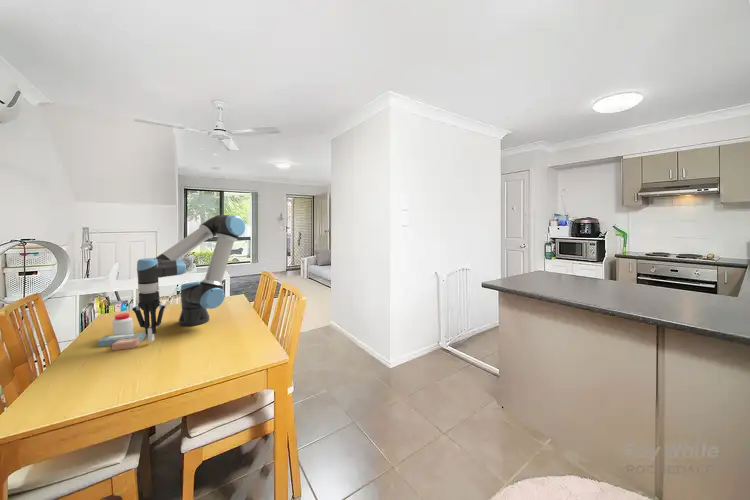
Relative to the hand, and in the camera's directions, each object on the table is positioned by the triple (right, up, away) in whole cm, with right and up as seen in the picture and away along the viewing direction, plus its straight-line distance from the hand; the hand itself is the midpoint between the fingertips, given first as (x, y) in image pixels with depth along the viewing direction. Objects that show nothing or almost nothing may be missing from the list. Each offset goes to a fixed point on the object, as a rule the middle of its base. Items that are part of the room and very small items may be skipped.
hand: (151, 340), depth 138 cm
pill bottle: (-21, -1, +9) cm, 23 cm away
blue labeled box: (-15, -1, +2) cm, 16 cm away
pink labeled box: (-9, -2, -3) cm, 10 cm away
